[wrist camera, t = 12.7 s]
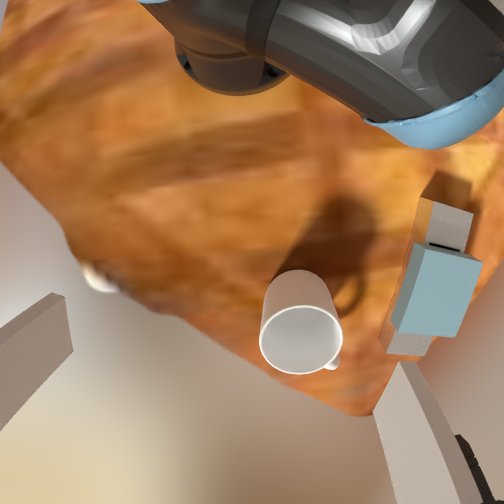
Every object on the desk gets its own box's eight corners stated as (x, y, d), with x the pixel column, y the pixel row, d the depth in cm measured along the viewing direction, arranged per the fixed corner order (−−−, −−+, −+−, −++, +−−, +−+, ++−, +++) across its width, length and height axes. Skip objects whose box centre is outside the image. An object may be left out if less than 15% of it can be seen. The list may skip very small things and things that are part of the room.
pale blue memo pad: (403, 234, 34) (425, 249, 28) (457, 247, 34) (483, 262, 27) (382, 307, 37) (397, 332, 31) (434, 314, 37) (454, 337, 30)
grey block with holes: (419, 196, 33) (434, 201, 29) (457, 208, 33) (473, 213, 29) (378, 337, 39) (385, 353, 35) (414, 341, 39) (424, 356, 35)
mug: (355, 321, 38) (374, 367, 29) (305, 353, 40) (310, 404, 31) (304, 254, 36) (312, 288, 27) (251, 292, 38) (241, 335, 29)
